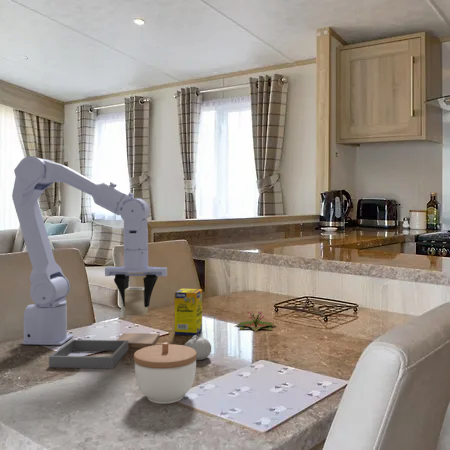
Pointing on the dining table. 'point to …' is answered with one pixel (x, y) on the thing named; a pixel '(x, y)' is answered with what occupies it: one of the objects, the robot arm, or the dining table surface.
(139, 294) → the box
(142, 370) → the lidded jar
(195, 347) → the garlic
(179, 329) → the supplement box
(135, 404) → the dining table surface
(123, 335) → the coaster
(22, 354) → the dining table surface
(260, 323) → the lily flower
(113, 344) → the bin
